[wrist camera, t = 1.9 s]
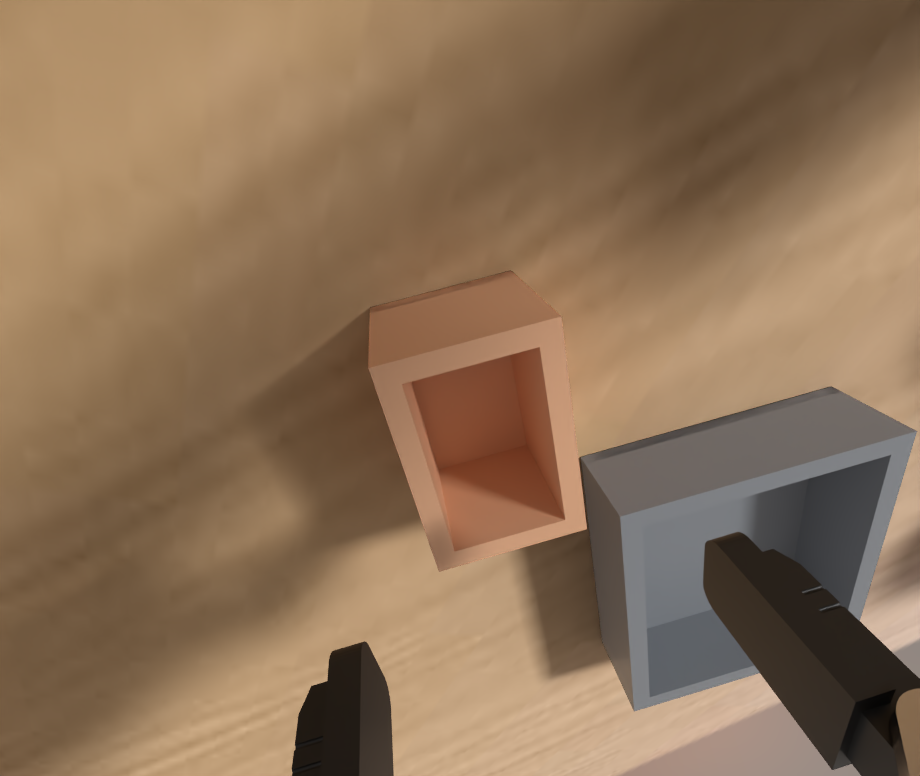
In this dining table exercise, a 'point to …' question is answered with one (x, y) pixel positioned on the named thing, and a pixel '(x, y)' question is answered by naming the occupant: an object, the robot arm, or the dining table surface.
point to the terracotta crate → (480, 415)
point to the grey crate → (733, 526)
